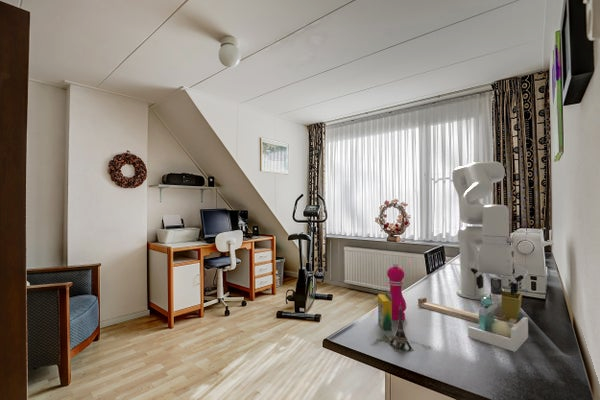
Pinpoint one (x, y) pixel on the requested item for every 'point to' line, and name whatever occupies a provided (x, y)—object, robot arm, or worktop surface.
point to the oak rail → (452, 310)
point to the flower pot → (510, 305)
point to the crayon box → (385, 311)
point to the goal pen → (517, 336)
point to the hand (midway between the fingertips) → (496, 291)
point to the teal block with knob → (491, 306)
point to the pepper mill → (396, 291)
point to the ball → (501, 329)
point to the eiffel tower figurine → (399, 338)
